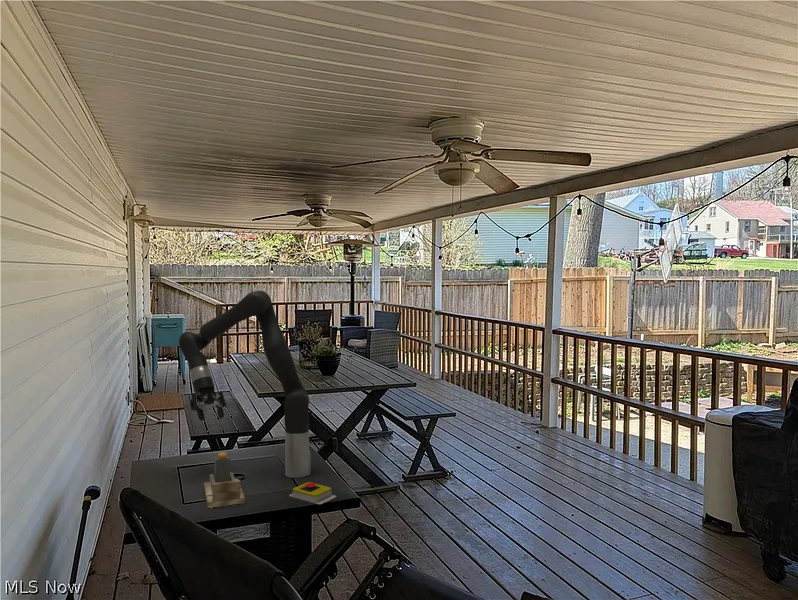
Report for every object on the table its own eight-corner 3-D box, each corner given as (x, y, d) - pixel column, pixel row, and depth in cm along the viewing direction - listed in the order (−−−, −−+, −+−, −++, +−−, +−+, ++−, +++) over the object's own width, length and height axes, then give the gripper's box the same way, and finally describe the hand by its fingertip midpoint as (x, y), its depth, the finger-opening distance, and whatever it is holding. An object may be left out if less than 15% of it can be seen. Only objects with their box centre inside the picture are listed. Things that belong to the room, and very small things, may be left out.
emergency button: (305, 477, 210) (337, 485, 202) (305, 489, 210) (337, 498, 202) (288, 484, 202) (320, 493, 194) (287, 497, 203) (320, 506, 194)
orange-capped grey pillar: (229, 482, 210) (228, 450, 209) (230, 485, 206) (230, 453, 206) (214, 484, 208) (214, 452, 208) (215, 487, 204) (215, 455, 204)
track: (237, 484, 214) (237, 462, 214) (244, 503, 195) (244, 480, 195) (204, 488, 210) (204, 466, 210) (207, 508, 190) (207, 485, 190)
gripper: (191, 376, 214) (202, 416, 209) (222, 375, 226) (233, 413, 220) (180, 384, 217) (190, 424, 212) (211, 383, 229) (221, 421, 224)
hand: (212, 418), depth 216 cm, fingers open, 8 cm apart
